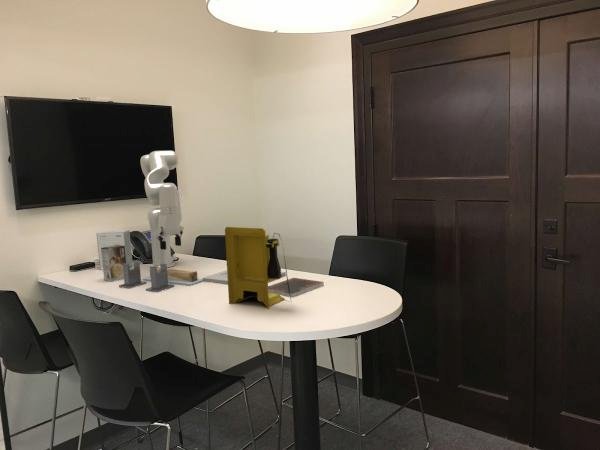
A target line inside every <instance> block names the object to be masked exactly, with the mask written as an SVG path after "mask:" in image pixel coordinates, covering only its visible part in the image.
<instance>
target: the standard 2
mask: <svg viewBox="0 0 600 450" xmlns="http://www.w3.org/2000/svg"><path fill="white" fill-rule="evenodd" d="M160 269H161V271H157V267H155V266H151V267H150V266H149V275H150V274H151V281H150V284H151V285H150V287H147V288H145V291H146V292H154V293H159V292H162V290H163V291H165V289H166V290H169V289H172V288H174V287H175V284H170V283H168V275H167V269H168V268H167V264H160Z"/></svg>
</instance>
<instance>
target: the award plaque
mask: <svg viewBox="0 0 600 450" xmlns="http://www.w3.org/2000/svg"><path fill="white" fill-rule="evenodd" d="M285 276H286V271H281V278H283V277H285ZM286 277H287V276H286ZM201 279H203V281H204V282H205V283H211V282H212V283H211V284H219V285H228V276H227V269H226V270H222V271H220V272H216V273H214V274H210V275H207V276H205V277H202V278H201ZM274 281H275V280H271V282H274Z"/></svg>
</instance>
